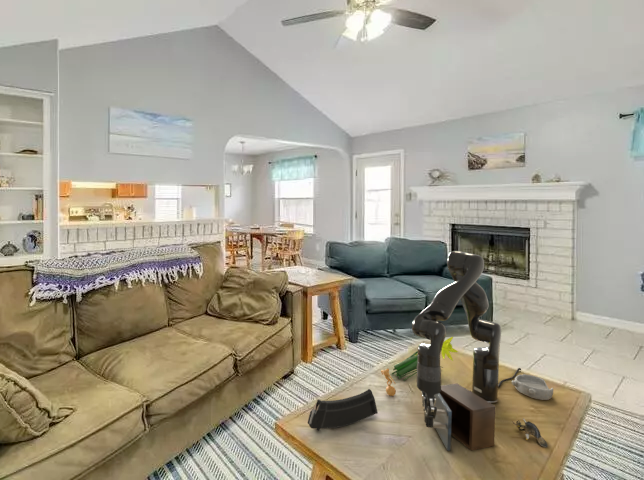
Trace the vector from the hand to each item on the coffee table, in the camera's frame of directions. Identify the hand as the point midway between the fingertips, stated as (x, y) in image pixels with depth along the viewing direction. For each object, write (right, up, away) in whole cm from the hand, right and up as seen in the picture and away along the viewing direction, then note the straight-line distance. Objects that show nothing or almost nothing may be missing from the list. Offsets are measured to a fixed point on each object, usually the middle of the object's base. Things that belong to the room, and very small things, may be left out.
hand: (428, 424), depth 130 cm
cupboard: (+16, -7, +7) cm, 19 cm away
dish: (+65, -7, +35) cm, 74 cm away
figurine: (-1, -6, +31) cm, 32 cm away
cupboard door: (+4, -7, +5) cm, 10 cm away
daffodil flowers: (+24, -6, +51) cm, 56 cm away
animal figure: (+39, -8, +4) cm, 40 cm away
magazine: (-26, -7, +11) cm, 29 cm away
